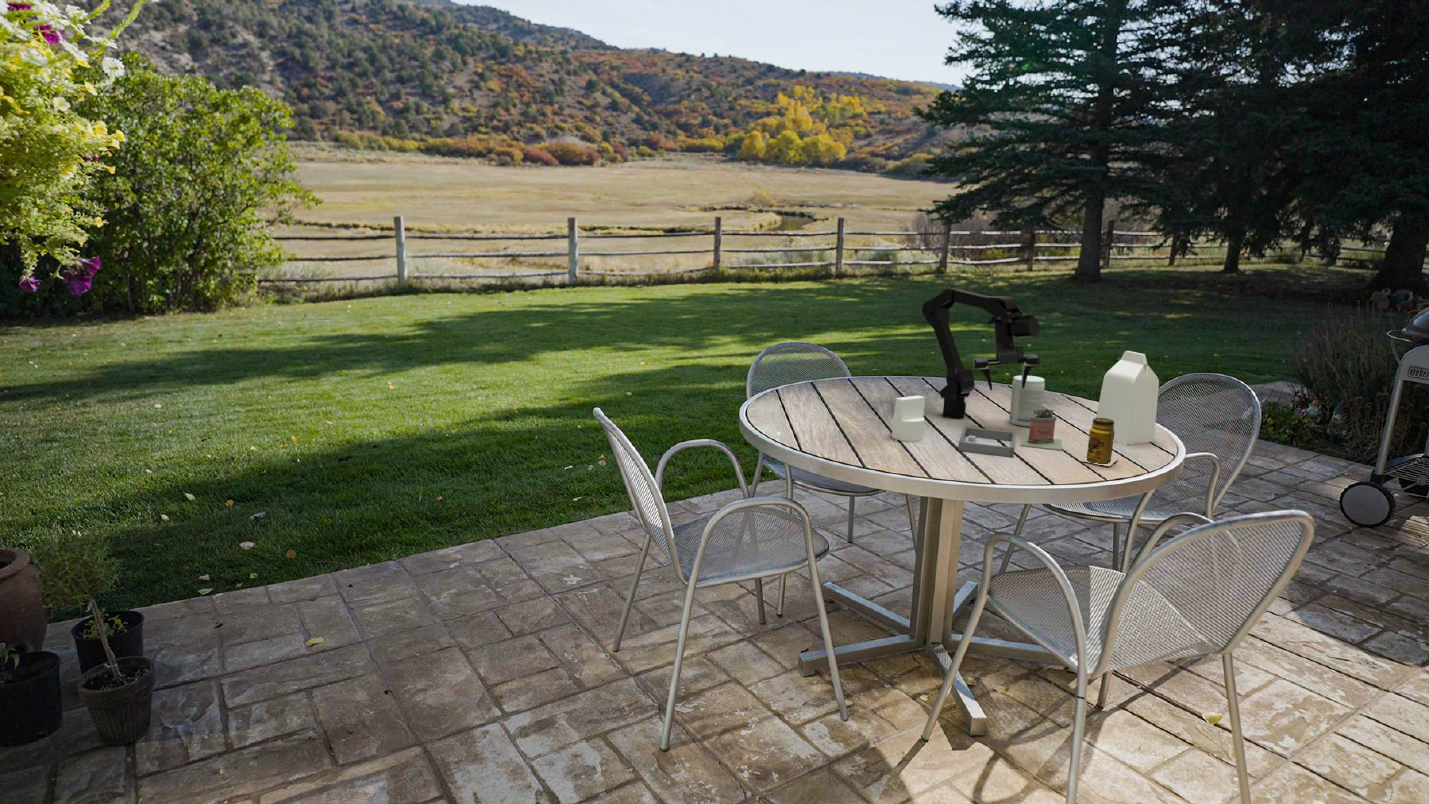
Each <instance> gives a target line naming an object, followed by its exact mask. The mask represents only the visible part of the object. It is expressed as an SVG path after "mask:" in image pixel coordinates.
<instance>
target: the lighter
mask: <svg viewBox="0 0 1429 804" xmlns="http://www.w3.org/2000/svg"><path fill="white" fill-rule="evenodd" d="M1033 414H1037V416H1032V417H1030V420H1031V422H1030V427H1029V434H1028V436H1029V439H1028V443H1031V444H1045V443H1053V442H1054V439H1055V438H1054V436H1055V435H1054V434H1055V427H1056V420H1057V416H1055V415H1053V414H1054V409H1052V408H1049V409H1048V408H1046V407H1043V409H1035V410H1034V413H1033Z"/></svg>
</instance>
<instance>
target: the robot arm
mask: <svg viewBox="0 0 1429 804" xmlns="http://www.w3.org/2000/svg"><path fill="white" fill-rule="evenodd" d="M956 303H959V304H962V305H966V306H969V307H970V306H971V307H975V308H978V309H982V310H983V311H985V313H988V314H989V315H991V318H990V319H989V320H987V323H986V324H987V325H993V332H994V353H995V358H994V359H993V358H991V359H989V358H988V357H975V358H974V359H973V360H972V367H973V369H977V371H979V372H981V373H982V375H983V376H984V379H985V380H986V382H987V386H988V389H989V390H990V391H992V392H993V383H992V378H991V371H990V368H989V366H999V365H1012V364H1013V365H1015V364H1023V365H1022V366H1021V376H1022V389H1024V386H1025V383H1026V379H1027V376H1029V374H1030V372H1031V370H1032V368H1035V367H1036V365H1040V363H1041V362H1040V356H1039V355H1038V354H1034V353H1033V354H1024V353H1025V351H1024V347H1023V346H1016V344H1015V343H1016V342H1015V341H1016V340H1015V338H1016V339H1017V338H1018V339H1020V338H1037V336H1038V335H1039V334H1040V330H1041V329H1040V328H1041V326H1040V323H1039V321H1038V319H1037V318H1036V316H1035V315H1036V314H1034V313H1032V314H1031V313H1030V314H1024V313H1023V312H1022V311H1021V310H1020V308H1019V307H1018V305H1017V303H1016V301H1015V299H1014V297H1011V296H999V295H998V296H995V295H994V296H992V295H991V296H989V295H985V294H980V293H977V292H973V291H969V290H965V289H960V288H959V287H950V288H947V289H945V290H944V291H943V292H941V293H939V294H938V295H936V296H934V297H933V298H932V299H930V300H926V301H925V302H924V303H923V304H922V307H921V314H922V316H923V318H924V320H925V321H926V323H928V325H929V326H930V327H931V328H932V329H933V331H934V334H935V337H936V340H937V343H938V346H939V349H940V352H941V355H942V359H943V361H944V363H945V366H946V377H945V381H946V385H945V386H944V387H943V388H942V389H940V390H939V395H940V398H942V399H943V410H942V414H941V417H945V418H953V419H954V418H955V419H963V418H964V417H965V416H966V412H967V411H966V410H967V401H965V400H966V398H969V397H970V394H971V392H972V391H973V390H974V388H975V386H976V385H975V384H976V383H975V381H976V378H975V377H974V375H973V370H972V369H971V367H970V368H967V367H965V366H964V365H963V362H962V359H961V357H960V353H959V350H958V349H957V346H956V342H955V339H954V336H953V334H952V331H951V328H950V327H951V326H950V325H949V324H950V323H949V321H950V317H951V316H950V315H951V314H950V310H951V309H952V308H953V307H954V306H955V305H956Z"/></svg>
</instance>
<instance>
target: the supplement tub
mask: <svg viewBox="0 0 1429 804" xmlns="http://www.w3.org/2000/svg"><path fill="white" fill-rule="evenodd" d="M1045 381H1046V379H1045V378H1043V377H1041V376H1034V375H1028V376H1027V379H1026V383H1025V386H1024V389H1022V375H1016V376H1015V375H1014V376H1013V379H1012V386H1011V397H1010V409H1009V418H1008V419H1009V422H1010V424H1013V425H1015V426H1018V427H1019V426H1022V427H1025V428H1026V427H1027V428H1028V427H1029V428H1030V422H1031V420H1030V417H1032V416H1037V414H1033V413H1034V410H1035V409H1043V408H1044V399H1045V390H1046V389H1045V386H1046V385H1045Z"/></svg>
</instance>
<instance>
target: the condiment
mask: <svg viewBox="0 0 1429 804" xmlns="http://www.w3.org/2000/svg"><path fill="white" fill-rule="evenodd" d="M1113 428H1114V421H1113V420H1111V419H1107V418H1096V417H1094V418H1093V419H1092V424H1091V428H1090V429H1089V436H1088V437H1089V438H1088V443H1087V445H1088V446H1087V452H1086V458H1087V461H1088V462H1090V463H1098V464H1108V463H1110V461H1111V459H1112V454H1113V446H1114V441H1113V440H1114V433H1115V432H1114V430H1113Z"/></svg>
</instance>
